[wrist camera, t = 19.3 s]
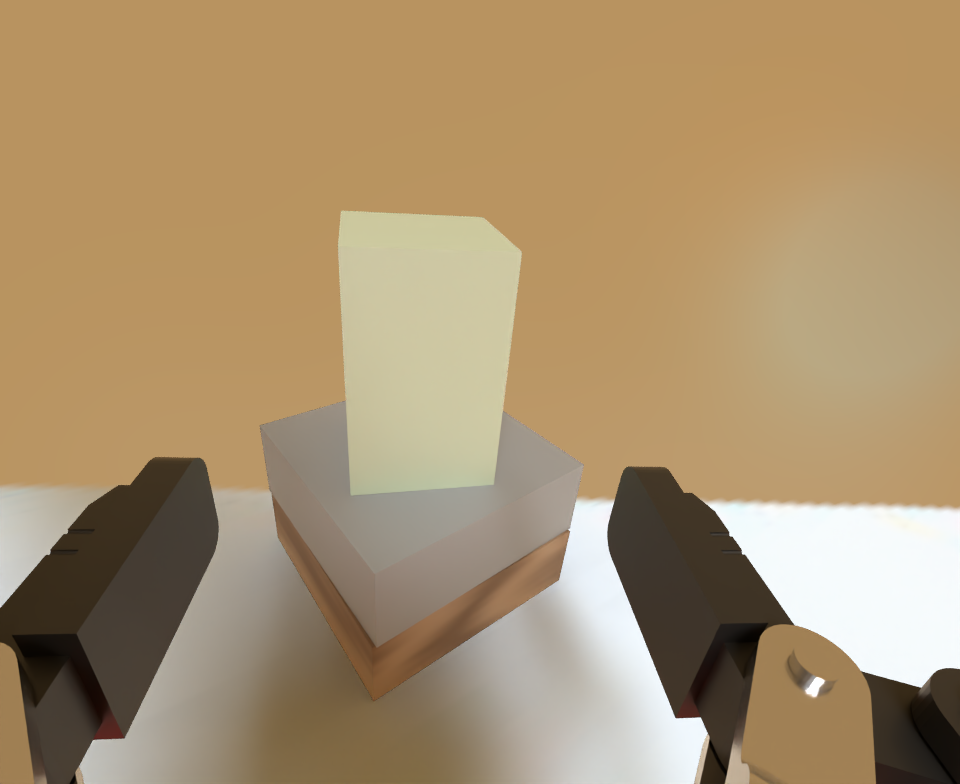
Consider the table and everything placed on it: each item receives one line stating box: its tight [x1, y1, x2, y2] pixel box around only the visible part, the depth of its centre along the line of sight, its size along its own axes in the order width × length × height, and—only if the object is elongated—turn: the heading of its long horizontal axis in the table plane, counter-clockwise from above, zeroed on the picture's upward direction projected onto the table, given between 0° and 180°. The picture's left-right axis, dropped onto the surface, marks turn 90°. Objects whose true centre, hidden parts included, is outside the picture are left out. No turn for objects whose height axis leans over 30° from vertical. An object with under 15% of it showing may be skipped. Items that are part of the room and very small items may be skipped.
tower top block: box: [260, 401, 584, 648], centre depth 25 cm, size 11×11×4 cm
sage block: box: [338, 211, 522, 496], centre depth 22 cm, size 6×6×10 cm
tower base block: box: [272, 494, 570, 701], centre depth 27 cm, size 11×11×4 cm
